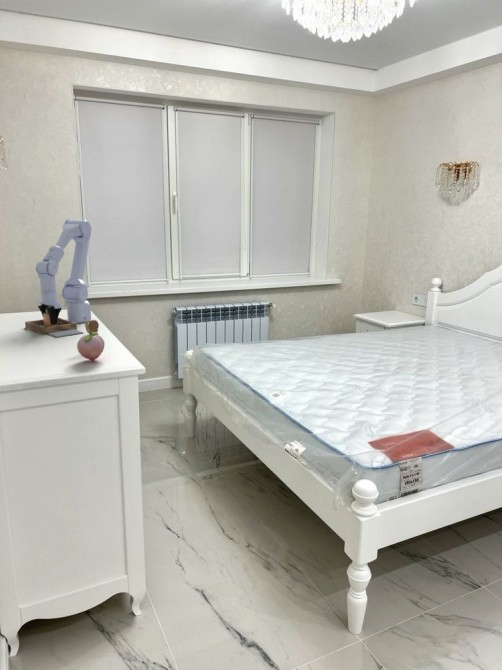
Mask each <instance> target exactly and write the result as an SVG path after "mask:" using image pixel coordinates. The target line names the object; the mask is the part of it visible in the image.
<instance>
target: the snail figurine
mask: <svg viewBox="0 0 502 670" xmlns="http://www.w3.org/2000/svg"><path fill="white" fill-rule="evenodd" d="M83 318H85V319H86V317H83ZM83 323H84V326H85V327H84V328H85V331H86V334H90V331H91V333H92V332H96V333H98V332H99V326H100V325H99V322H98V320H96V319H91V321H87V320H84V322H83Z"/></svg>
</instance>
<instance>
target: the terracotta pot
mask: <svg viewBox="0 0 502 670" xmlns="http://www.w3.org/2000/svg"><path fill="white" fill-rule="evenodd" d="M47 308H51V307H47ZM43 318H44V326H43V327H44V328H45V327H52V326H59V324H58V323H57V324H55V325H51V322H50V317H49V314H48V311H47V310H46V313H43V316H42V319H43Z"/></svg>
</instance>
